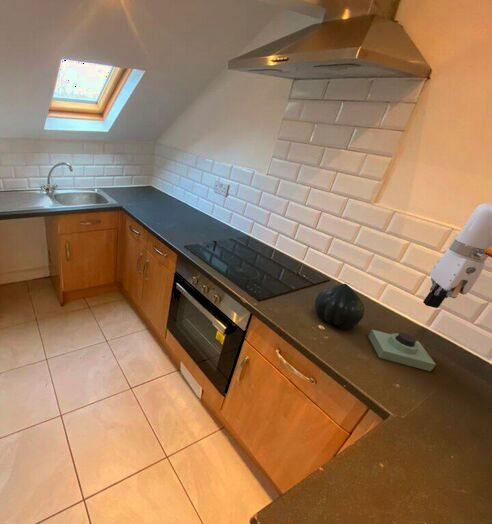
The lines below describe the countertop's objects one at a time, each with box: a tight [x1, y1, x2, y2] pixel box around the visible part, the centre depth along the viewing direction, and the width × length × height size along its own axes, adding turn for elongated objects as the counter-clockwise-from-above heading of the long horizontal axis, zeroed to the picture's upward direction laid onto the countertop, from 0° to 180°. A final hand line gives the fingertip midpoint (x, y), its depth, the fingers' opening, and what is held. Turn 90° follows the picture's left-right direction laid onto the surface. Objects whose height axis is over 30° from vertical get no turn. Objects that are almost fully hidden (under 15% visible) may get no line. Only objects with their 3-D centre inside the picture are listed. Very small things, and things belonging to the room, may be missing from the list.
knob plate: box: [367, 329, 437, 372], centre depth 97 cm, size 14×11×5 cm
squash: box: [314, 283, 366, 330], centre depth 108 cm, size 14×15×15 cm
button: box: [396, 332, 417, 347], centre depth 95 cm, size 4×4×2 cm
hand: (430, 305), depth 89 cm, fingers closed
